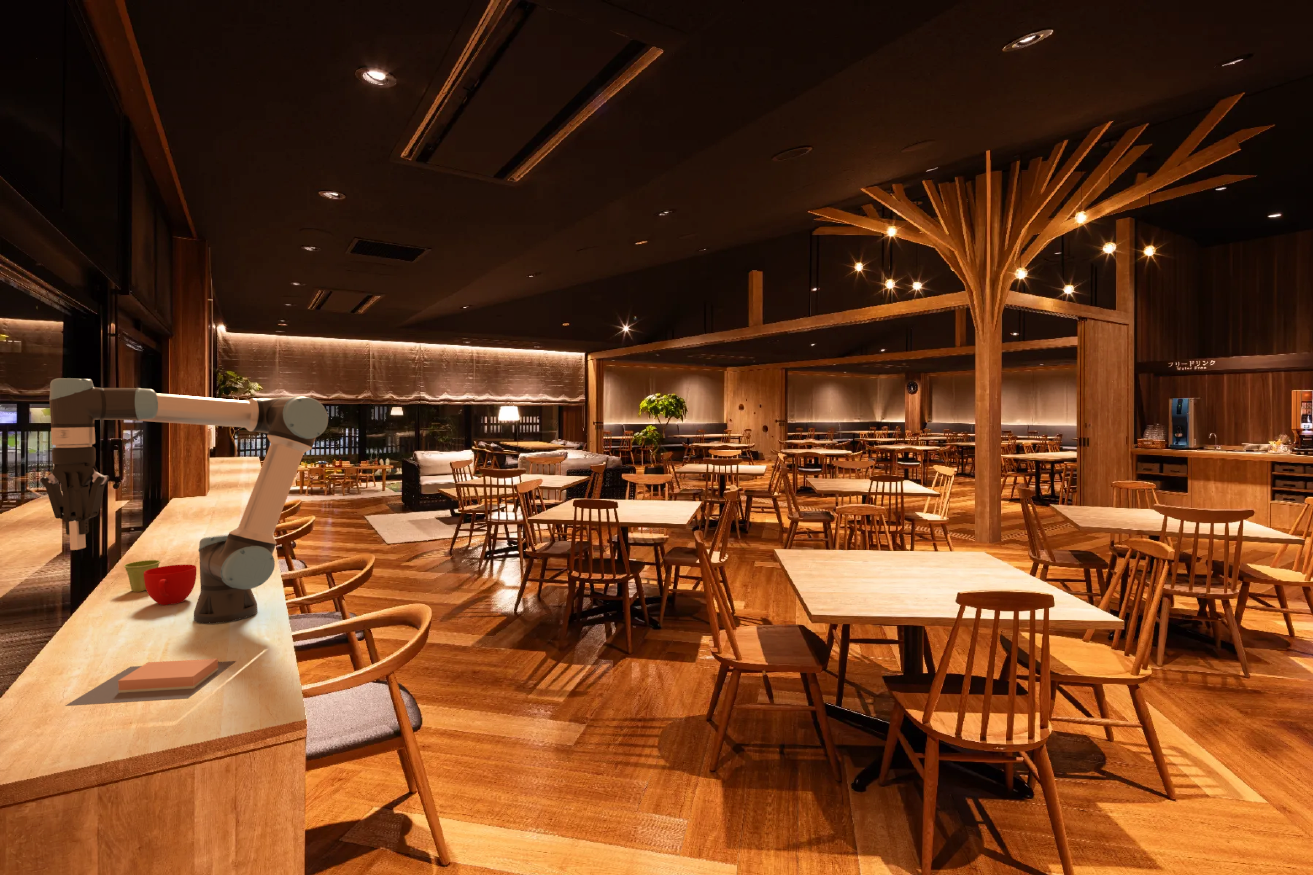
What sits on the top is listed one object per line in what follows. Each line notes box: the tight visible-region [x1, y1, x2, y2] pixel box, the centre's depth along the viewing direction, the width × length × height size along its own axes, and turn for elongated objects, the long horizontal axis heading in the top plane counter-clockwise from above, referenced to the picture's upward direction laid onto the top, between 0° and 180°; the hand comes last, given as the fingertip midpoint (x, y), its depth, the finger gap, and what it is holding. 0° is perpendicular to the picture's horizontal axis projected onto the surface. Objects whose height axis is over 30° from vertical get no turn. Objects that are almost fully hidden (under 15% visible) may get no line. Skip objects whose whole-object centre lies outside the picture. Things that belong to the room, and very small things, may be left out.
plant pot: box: [123, 559, 161, 593], centre depth 217 cm, size 9×9×9 cm
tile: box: [118, 658, 219, 693], centre depth 142 cm, size 2×10×14 cm
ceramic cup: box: [144, 564, 197, 606], centre depth 201 cm, size 13×17×10 cm
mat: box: [65, 660, 237, 707], centre depth 142 cm, size 22×20×1 cm
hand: (78, 548), depth 154 cm, fingers closed
